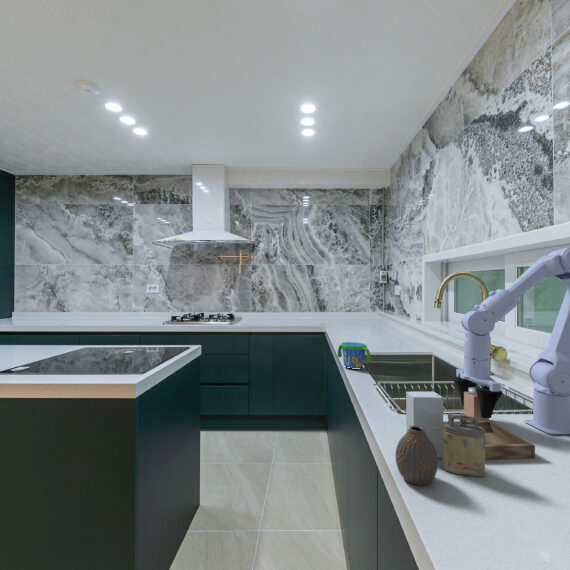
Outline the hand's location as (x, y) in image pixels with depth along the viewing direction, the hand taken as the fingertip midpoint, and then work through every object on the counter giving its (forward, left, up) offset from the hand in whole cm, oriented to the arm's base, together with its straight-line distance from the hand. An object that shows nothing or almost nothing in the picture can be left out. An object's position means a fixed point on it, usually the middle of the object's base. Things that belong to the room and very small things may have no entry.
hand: (476, 412), depth 88 cm
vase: (+28, +25, -3) cm, 38 cm away
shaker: (0, 0, -2) cm, 2 cm away
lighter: (+18, +23, -3) cm, 29 cm away
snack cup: (+14, -60, -3) cm, 61 cm away
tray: (+7, +12, -2) cm, 15 cm away
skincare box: (+22, +16, -3) cm, 27 cm away
